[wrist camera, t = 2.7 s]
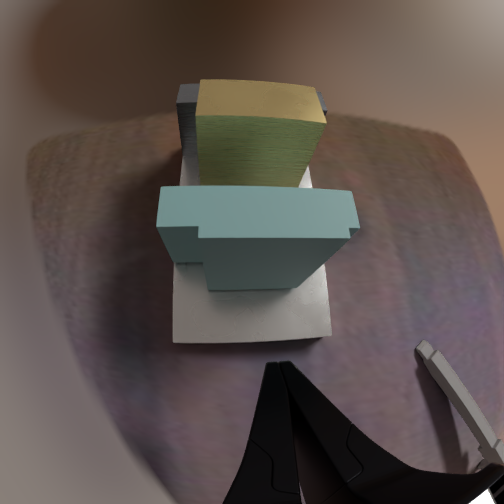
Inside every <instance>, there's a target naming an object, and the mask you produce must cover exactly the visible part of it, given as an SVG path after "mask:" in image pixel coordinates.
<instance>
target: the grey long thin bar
mask: <svg viewBox="0 0 504 504" xmlns="http://www.w3.org/2000/svg"><path fill="white" fill-rule="evenodd" d="M416 350H417V352H418V353H419V354H420V356H421V357H422V358H423V359H424V361H423V362H424V364H425V365H426V367H427V369H428V370H429V372H430V374H431V375H432V377H433V378H434V379H435V381H436V382H437V383H438V385H439V386H440V387H441V389H442V390H443V391H444V393H445V394H446V396H447V397H448V398H449V400H450V401H451V402H452V404H453V405H454V407H455V408H456V409H457V411H458V412H459V414H460V415H461V417H462V418H463V420H464V421H465V423H466V424H467V425H468V427H469V428H470V430H471V432H472V433H473V435H474V436H475V438H476V439H477V441H478V442H479V444H480V446H479V447H478V450H479V451H480V452H481V454H482V457H483V458H485V459H483V460H482V461H481V463H480V464H479V465H478V469H483V468H484V467H485V466H487V465H488V464H489V463H491V462H493V463H499V464H502V465H504V444H503V442H502V440H501V439H497V437H496V435H495V434H494V432H493V430H492V428H491V427H490V425H489V423H488V422H487V420H486V419H485V417H484V415H483V414H482V412H481V410H480V409H479V407H478V406H477V404H476V403H475V401H474V400H473V398H472V397H471V395H470V394H469V392H468V391H467V389H466V388H465V386H464V385H463V383H462V382H461V380H460V379H459V378H458V376H457V375H456V373H455V372H454V371H453V369H452V368H451V366H450V365H449V364H448V362H447V361H446V360H445V358H444V357H443V356H442V354H441V353H440V352H439V350H435V351H434V350H433V348H432V347H431V346H430V345H429V343H428V342H427V341H425V340H422V341H421V343H420V344H419V345H418V346H417V347H416Z"/></svg>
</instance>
